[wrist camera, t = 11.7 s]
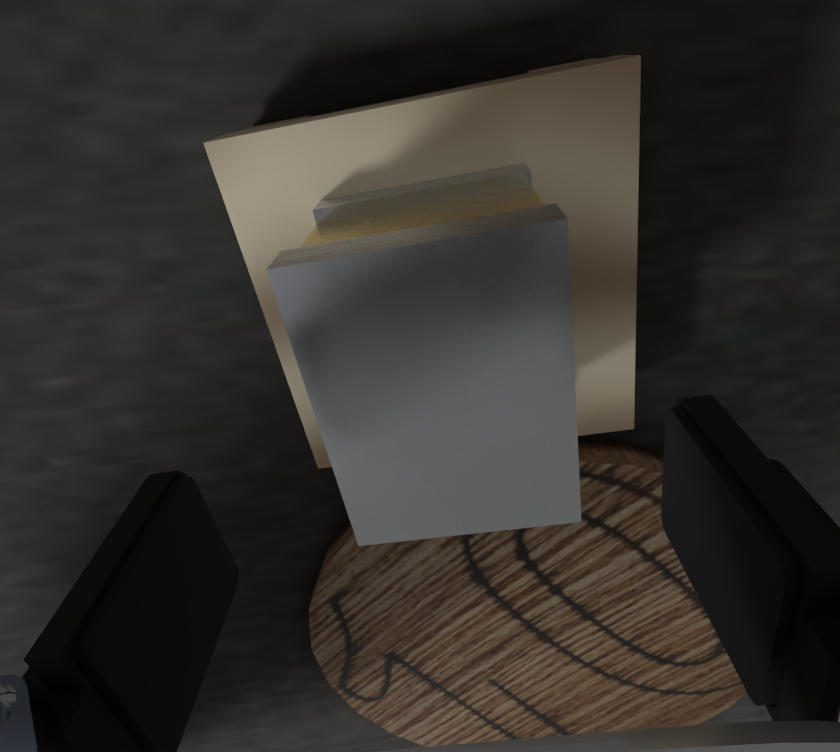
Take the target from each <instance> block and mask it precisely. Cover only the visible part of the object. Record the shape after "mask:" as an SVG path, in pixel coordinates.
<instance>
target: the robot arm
mask: <svg viewBox="0 0 840 752" xmlns="http://www.w3.org/2000/svg"><path fill="white" fill-rule="evenodd" d="M661 518H662V524H663V528H664V531H665V533H666V535H667V537H668V539H669V541H670V543H671V545H672V547H673V549H674V551H675V553H676V555H677V557H678V559H679V561H680V563H681V565H682V567H683V569H684V571H685V572H686V574H687V576H688V578H689V580H690V582H691V584H692V586H693V588H694V590H695V592H696V594H697V596H698V598H699V600H700V602H701V604H702V606H703V608H704V609H705V611H706V613H707V615H708V617H709V619H710V621H711V623H712V625H713V627H714V629H715V631H716V633H717V635H718V637H719V639H720V641H721V643H722V645H723V646H724V648H725V650H726V652H727V654H728V656H729V658H730V660H731V662H732V664H733V666H734V668H735V670H736V672H737V674H738V676H739V678H740V680H741V681H742V683H743V685H744V687H745V689H746V691H747V693H748V695H749V697H750V698H751V700H752V701H753V702H754V704H756V705H757V706H761V705H765V706H766V708H767V710H768V712H769V713H770V715H771V717H772V719H773V721H755V722H740V723H724V724H709V725H693V726H678V727H662V728H647V729H635V730H622V731H610V732H598V733H586V734H574V735H562V736H550V737H538V738H525V739H513V740H501V741H489V742H477V743H466V744H454V745H443V746H432V747H420V748H409V749H397V750H386V751H375V752H840V528H839V526H838V525H837V524H836V523H835V522H834V521H833V520H832V519H831V518H830V516H829V515H828V514H827V513H826V512H825V511H824V510H823V509H822V508H821V506H820V505H819V504H818V503H817V502H816V501H815V500H814V499H813V498H812V496H811V495H810V494H809V493H808V492H807V491H806V490H805V489H804V487H803V486H802V485H801V484H800V483H799V482H798V481H797V480H796V479H795V477H794V476H793V475H792V474H791V473H790V472H789V471H788V470H787V469H786V467H785V466H783V465H782V464H781V463H780V462H779V461H776V460H774V459H767V458H766V456H765V455H764V454H763V453H762V452H761V451H760V449H759V448H758V447H757V446H756V445H755V444H754V443H753V441H752V440H751V439H750V438H749V437H748V436H747V435H746V433H745V432H744V431H743V430H742V429H741V428H740V427H739V425H738V424H737V423H736V422H735V421H734V420H733V419H732V417H731V416H730V415H729V414H728V413H727V412H726V410H725V409H724V408H723V407H722V406H721V405H720V404H719V402H718V401H717V400H716V399H715V398H714V397H713V396H711V395H705V396H698V397H691V398H684V399H678V400H677V401H676V403H675V408H669V409H667V411H666V416H665V438H664V461H663V483H662V506H661ZM237 584H238V570H237V567H236V565H235V563H234V561H233V558H232V556H231V554H230V552H229V550H228V548H227V546H226V544H225V542H224V540H223V538H222V536H221V534H220V532H219V530H218V528H217V526H216V524H215V522H214V520H213V518H212V515H211V513H210V511H209V509H208V507H207V505H206V503H205V501H204V499H203V497H202V495H201V493H200V491H199V489H198V487H197V485H196V483H195V481H194V479H193V478H191V477H188V476H187V477H186V475H185V474H184V473H183V472H181V471H172V472H165V473H158V474H152V475H150V476H148V478H147V479H146V480H145V481H144V483H143V484H142V486H141V487H140V489H139V490H138V492H137V493H136V495H135V496H134V497H133V499H132V500H131V502H130V503H129V505H128V506H127V508H126V509H125V511H124V512H123V514H122V515H121V517H120V518H119V520H118V521H117V523H116V524H115V525H114V527H113V528H112V530H111V531H110V533H109V534H108V536H107V537H106V539H105V540H104V542H103V543H102V545H101V546H100V548H99V549H98V551H97V552H96V554H95V555H94V556H93V558H92V559H91V561H90V562H89V564H88V565H87V567H86V568H85V570H84V571H83V573H82V574H81V576H80V577H79V579H78V580H77V582H76V583H75V584H74V586H73V587H72V589H71V590H70V592H69V593H68V595H67V596H66V598H65V599H64V601H63V602H62V604H61V605H60V607H59V608H58V610H57V611H56V613H55V614H54V615H53V617H52V618H51V620H50V621H49V623H48V624H47V626H46V627H45V629H44V630H43V632H42V633H41V635H40V636H39V638H38V639H37V641H36V642H35V643H34V645H33V646H32V648H31V649H30V651H29V652H28V654H27V655H26V657H25V658H24V661H25V662H26V663H27V664H28V666H29V668H28V670H27V671H26V673H25V674H24V676H23V677H22V678H21V677H19V676H17V675H0V752H176V751H177V749H178V747H179V744H180V741H181V739H182V736H183V733H184V730H185V728H186V725H187V722H188V719H189V717H190V714H191V711H192V708H193V706H194V703H195V700H196V697H197V695H198V692H199V689H200V686H201V684H202V681H203V678H204V675H205V673H206V670H207V667H208V664H209V662H210V659H211V656H212V653H213V651H214V648H215V645H216V642H217V640H218V637H219V634H220V631H221V629H222V626H223V623H224V620H225V618H226V615H227V612H228V609H229V607H230V604H231V601H232V598H233V595H234V593H235V590H236V587H237Z"/></svg>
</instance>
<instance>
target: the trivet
mask: <svg viewBox="0 0 840 752" xmlns="http://www.w3.org/2000/svg"><path fill="white" fill-rule="evenodd" d="M578 456H579V478H580V500H581V522H577V523H568V524H559V525H549V526H540V527H531V528H521V529H512V530H503V531H493V532H484V533H475V534H466V535H456V536H447V537H438V538H428V539H419V540H410V541H400V542H391V543H382V544H373V545H363V546H358V543H357V540H356V537H355V534H354V531H353V528H352V525H351V522H350V520H349V521H348V522H347V523H346V525H345V526H344V527H343V528H342V530H341V531H340V532H339V533H338V534H337V536H336V537H335V538H334V539H333V541H332V542H331V543H330V544H329V545H328V548H327V551H326V554H325V557H324V559H323V562H322V565H321V568H320V571H319V574H318V577H317V580H316V582H315V585H314V589H313V594H312V598H311V602H310V607H309V624H310V638H311V650H312V652H313V654H314V656H315V658H316V660H317V662H318V664H319V666H320V668H321V670H322V672H323V674H324V676H325V678H326V680H327V682H328V684H329V685H330V686H331V687H332V688H333V689H334V690H335V691H336V692H337V693H338V694H339V695H340V696H341V697H342V698H343V699H344V700H345V701H346V702H347V703H348V704H349V705H350V706H351V707H352V708H353V709H354V710H355V711H356V712H357V713H359V714H361V715H362V716H364V717H366V718H367V719H369V720H371V721H372V722H374V723H375V724H377V725H379V726H380V727H382V728H384V729H385V730H387V731H389V732H390V733H392V734H394V735H396V736H399V737H401V738H404V739H407V740H409V741H412V742H415V743H417V744H420V745H423V746H426V747H432V746H443V745H454V744H466V743H477V742H489V741H501V740H513V739H525V738H538V737H550V736H562V735H574V734H586V733H598V732H610V731H622V730H635V729H647V728H662V727H678V726H693V725H699V724H701V723H703V722H705V721H707V720H708V719H710V718H712V717H714V716H715V715H717V714H719V713H721V712H722V711H724V710H726V709H728V708H729V707H731V706H732V705H733V704H734V703H735V702H736V701H737V700H739V699H740V698H741V697H742V696H743V695H744V694H745V693H747V691H746V689H745V687H744V685H743V683H742V681H741V680H740V678H739V676H738V674H737V672H736V670H735V668H734V666H733V664H732V662H731V660H730V658H729V656H728V654H727V652H726V650H725V648H724V646H723V645H722V643H721V641H720V639H719V637H718V635H717V633H716V631H715V629H714V627H713V625H712V623H711V621H710V619H709V617H708V615H707V613H706V611H705V609H704V608H703V606H702V604H701V602H700V600H699V598H698V596H697V594H696V592H695V590H694V588H693V586H692V584H691V582H690V580H689V578H688V576H687V574H686V572H685V571H684V569H683V567H682V565H681V563H680V561H679V559H678V557H677V555H676V553H675V551H674V549H673V547H672V545H671V543H670V541H669V539H668V537H667V535H666V533H665V531H664V528H663V524H662V518H661V506H662V483H663V461H664V454H660V453H657V452H654V451H650V450H647V449H643V448H640V447H637V446H633V445H630V444H626V443H623V442H609V441H593V440H578Z"/></svg>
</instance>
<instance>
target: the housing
mask: <svg viewBox="0 0 840 752" xmlns="http://www.w3.org/2000/svg"><path fill="white" fill-rule="evenodd" d="M313 214H314V218H315V221H316V226H315V227H314V229H313V230H312V231H311V233H310V234H309V236H308V237H307V239H306V240H305V242H304V243H303V244H302V246H301V247H300V248H295V249H289V250H283V251H280V252H279V254H278V255H277V256H276V257H275V259H274V260H273V261H272V263H271V264H270V265H269V266H268V268H267V269H266V271H267V274H268V277H269V280H270V283H271V286H272V289H273V292H274V295H275V298H276V301H277V304H278V307H279V310H280V313H281V316H282V319H283V322H284V325H285V328H286V331H287V334H288V337H289V340H290V343H291V346H292V349H293V352H294V355H295V358H296V361H297V364H298V367H299V370H300V373H301V376H302V379H303V382H304V385H305V388H306V391H307V394H308V397H309V400H310V403H311V406H312V409H313V412H314V415H315V418H316V421H317V424H318V427H319V429H320V432H321V435H322V438H323V441H324V444H325V447H326V450H327V453H328V456H329V459H330V462H331V465H332V468H333V471H334V474H335V477H336V480H337V483H338V486H339V489H340V492H341V495H342V498H343V501H344V504H345V507H346V510H347V513H348V516H349V519H350V522H351V525H352V528H353V531H354V534H355V537H356V540H357V543H358V546H363V545H373V544H382V543H391V542H400V541H410V540H419V539H428V538H438V537H447V536H456V535H466V534H475V533H484V532H493V531H503V530H512V529H521V528H531V527H540V526H549V525H559V524H568V523H577V522H581V500H580V478H579V456H578V433H577V411H576V389H575V366H574V344H573V321H572V299H571V277H570V254H569V232H568V218H567V217H566V215H565V214H564V213H563V212H562V210H561V209H560V208H559V206H558V205H557V204H556V203H555V204H549V205H545V204H544V203H543V201H542V200H541V198H540V197H539V196H538V194H537V193H536V191H535V190H534V188H533V187H532V180H531V170H530V169H529V168H528V166H527V165H526V164H525V163H521V164H515V165H510V166H504V167H499V168H493V169H488V170H482V171H477V172H471V173H466V174H460V175H455V176H449V177H444V178H438V179H433V180H428V181H422V182H417V183H411V184H406V185H400V186H395V187H389V188H384V189H378V190H373V191H367V192H362V193H356V194H351V195H345V196H340V197H334V198H329V199H323V200H320V201H319V202H318V204H317V205H316V206H315V208H314V209H313Z"/></svg>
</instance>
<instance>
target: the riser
mask: <svg viewBox="0 0 840 752" xmlns="http://www.w3.org/2000/svg"><path fill="white" fill-rule="evenodd" d="M640 81H641V55H615V56H610V57H605V58H590V59H585V60H580V61H575V62H570V63H565V64H560V65H555V66H550V67H545V68H540V69H535V70H530V71H527V73H526V74H521V75H516V76H511V77H506V78H501V79H496V80H491V81H486V82H481V83H476V84H471V85H466V86H461V87H456V88H451V89H446V90H441V91H436V92H431V93H426V94H421V95H416V96H411V97H406V98H401V99H396V100H391V101H387V102H382V103H377V104H372V105H367V106H362V107H357V108H352V109H347V110H342V111H337V112H332V113H327V114H322V115H317V116H312V117H310V115H307V116H302V117H297V118H292V119H287V120H282V121H277V122H272V123H267V124H263V125H258V126H253V127H249V128H247V129H245V130H242V131H237V132H232V133H227V134H225V135H222V136H220V137H217V138H214V139H212V140H209V141H207V142H204V146H205V149H206V152H207V155H208V157H209V160H210V163H211V166H212V169H213V172H214V174H215V177H216V180H217V183H218V186H219V189H220V191H221V194H222V197H223V200H224V203H225V206H226V208H227V211H228V214H229V217H230V220H231V223H232V225H233V228H234V231H235V234H236V237H237V240H238V243H239V245H240V248H241V251H242V254H243V257H244V260H245V262H246V265H247V268H248V271H249V274H250V277H251V279H252V282H253V285H254V288H255V291H256V294H257V296H258V299H259V302H260V305H261V308H262V311H263V313H264V316H265V319H266V322H267V325H268V328H269V330H270V333H271V336H272V339H273V342H274V345H275V348H276V350H277V353H278V356H279V359H280V362H281V365H282V367H283V370H284V373H285V376H286V379H287V382H288V384H289V387H290V390H291V393H292V396H293V399H294V401H295V404H296V407H297V410H298V413H299V416H300V418H301V421H302V424H303V427H304V430H305V433H306V435H307V438H308V441H309V444H310V447H311V450H312V452H313V455H314V458H315V461H316V464H317V467H318V469H319V468H327V467H332V465H331V462H330V459H329V456H328V453H327V450H326V447H325V444H324V441H323V438H322V435H321V432H320V429H319V427H318V424H317V421H316V418H315V415H314V412H313V409H312V406H311V403H310V400H309V397H308V394H307V391H306V388H305V385H304V382H303V379H302V376H301V373H300V370H299V367H298V364H297V361H296V358H295V355H294V352H293V349H292V346H291V343H290V340H289V337H288V334H287V331H286V328H285V325H284V322H283V319H282V316H281V313H280V310H279V307H278V304H277V301H276V298H275V295H274V292H273V289H272V286H271V283H270V280H269V277H268V274H267V271H266V269H267V268H268V266H269V265H270V264H271V263H272V261H273V260H274V259H275V257H276V256H277V255H278V254H279V252H280V251H283V250H289V249H295V248H300V247H301V246H302V244H303V243H304V242H305V240H306V239H307V237H308V236H309V234H310V233H311V231H312V230H313V229H314V227H315V226H316V221H315V218H314V214H313V209H314V208H315V206H316V205H317V204H318V202H319V201H320V200H323V199H329V198H334V197H340V196H345V195H351V194H356V193H362V192H367V191H373V190H378V189H384V188H389V187H395V186H400V185H406V184H411V183H417V182H422V181H428V180H433V179H438V178H444V177H449V176H455V175H460V174H466V173H471V172H477V171H482V170H488V169H493V168H499V167H504V166H510V165H515V164H521V163H525V164H526V165H527V166H528V168H529V169H530V170H531V180H532V187H533V188H534V190H535V191H536V193H537V194H538V196H539V197H540V198H541V200H542V201H543V203H544V204H545V205H549V204H555V203H556V204H557V205H558V206H559V208H560V209H561V210H562V212H563V213H564V214H565V215H566V217H567V218H568V232H569V254H570V277H571V299H572V321H573V344H574V366H575V389H576V411H577V433H578V436H582V435H590V434H598V433H606V432H614V431H622V430H630V429H634V405H635V351H636V297H637V243H638V189H639V135H640Z"/></svg>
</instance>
